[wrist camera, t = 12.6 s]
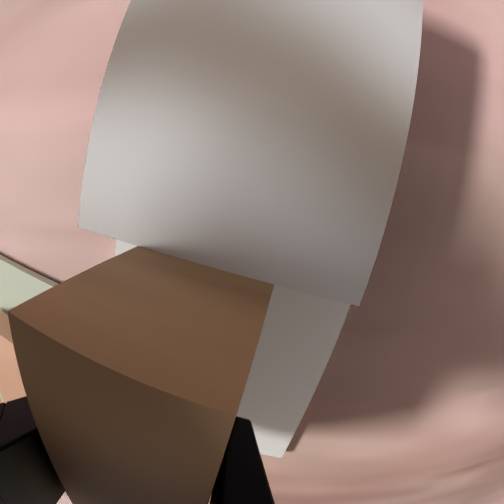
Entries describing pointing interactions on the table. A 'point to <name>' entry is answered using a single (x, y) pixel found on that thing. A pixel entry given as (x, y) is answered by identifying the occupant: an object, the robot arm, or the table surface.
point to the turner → (212, 225)
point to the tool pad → (286, 362)
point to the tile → (8, 364)
